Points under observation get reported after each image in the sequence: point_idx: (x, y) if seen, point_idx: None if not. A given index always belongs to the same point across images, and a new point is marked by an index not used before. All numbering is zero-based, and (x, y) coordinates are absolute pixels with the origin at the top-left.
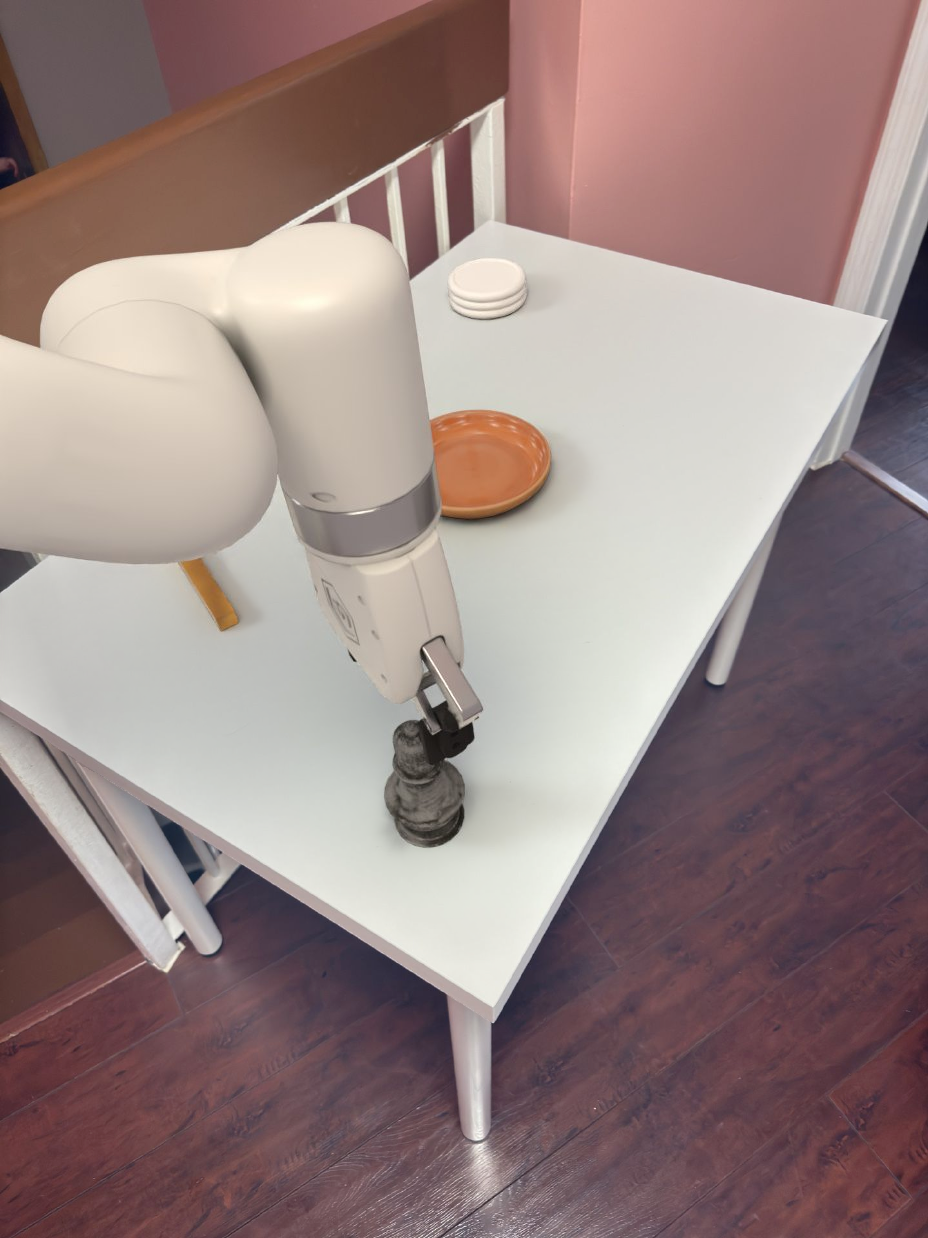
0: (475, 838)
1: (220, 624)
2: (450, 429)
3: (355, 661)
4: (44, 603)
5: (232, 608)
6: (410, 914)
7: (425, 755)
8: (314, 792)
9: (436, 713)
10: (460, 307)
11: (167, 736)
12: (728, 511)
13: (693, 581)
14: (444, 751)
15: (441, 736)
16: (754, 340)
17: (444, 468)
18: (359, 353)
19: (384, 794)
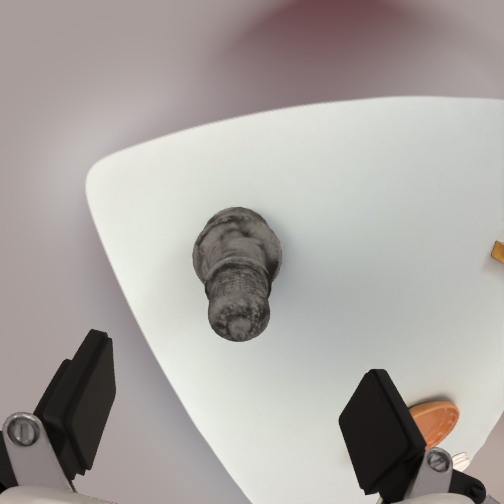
0: (187, 253)
1: (500, 245)
2: (435, 435)
3: (371, 370)
4: None
5: (501, 261)
6: (172, 160)
7: (93, 342)
8: (343, 181)
9: (10, 465)
10: (459, 457)
11: (472, 141)
12: (259, 485)
13: (239, 461)
14: (56, 372)
15: (38, 406)
16: None
17: (427, 422)
18: None
19: (266, 227)
